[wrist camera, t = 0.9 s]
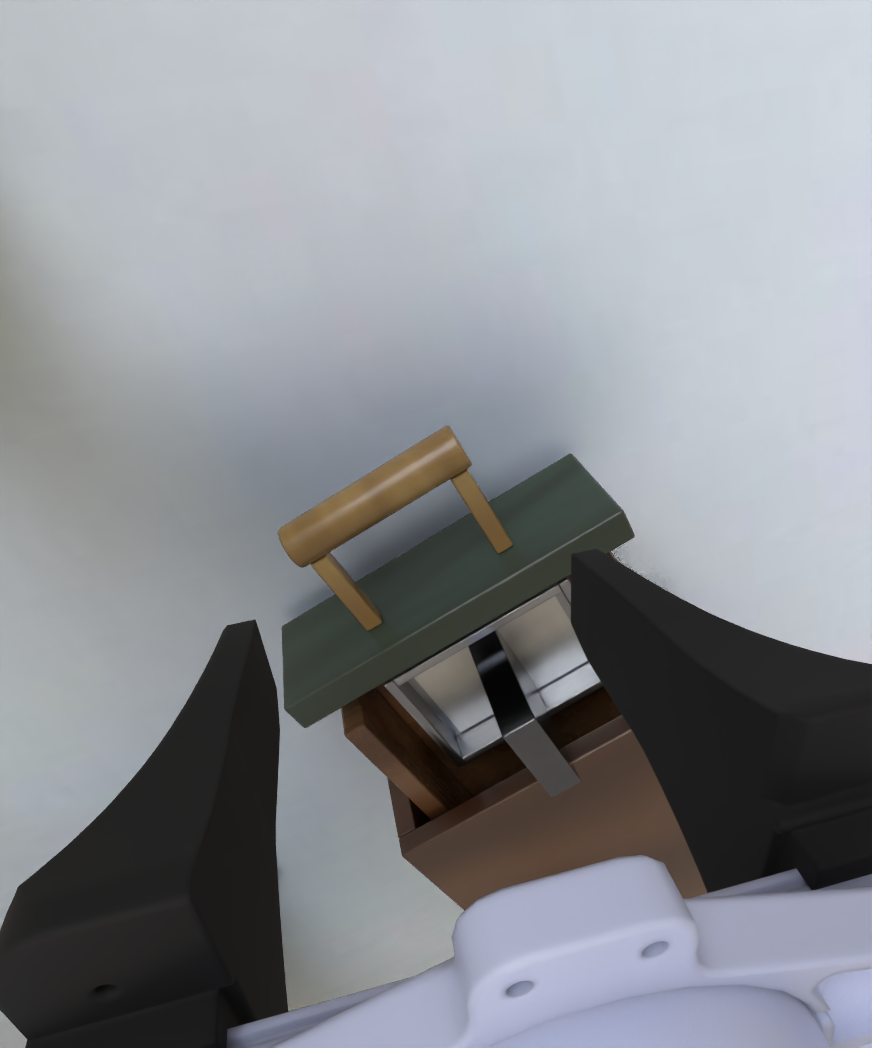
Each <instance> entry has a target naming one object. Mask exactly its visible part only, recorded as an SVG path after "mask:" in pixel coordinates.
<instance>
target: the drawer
mask: <svg viewBox="0 0 872 1048" xmlns="http://www.w3.org/2000/svg"><path fill="white" fill-rule="evenodd" d="M471 465H472V463H471V461H470V459H469V458H468V456H467V454H466V453H465V451H464V449H463V448H462V446H461V444H460V443H459V441H458V439H457V438H456V436H455V434H454V433H453V431H452V429H451V428H450V426H448V425H447V426H445V427H443V428H441V429H440V430H438V431H437V432H435V433H433V434H432V435H430V436H428V437H427V438H425V439H424V440H422V441H420V442H419V443H417V444H415V445H414V446H412V447H411V448H409V449H407V450H406V451H404V452H402V453H401V454H399V455H398V456H396V457H394V458H393V459H391V460H390V461H388V462H386V463H385V464H383V465H381V466H380V467H378V468H377V469H375V470H373V471H372V472H370V473H368V474H367V475H365V476H364V477H362V478H360V479H359V480H357V481H355V482H354V483H352V484H351V485H349V486H347V487H346V488H344V489H342V490H341V491H339V492H338V493H336V494H334V495H333V496H331V497H329V498H328V499H326V500H325V501H323V502H321V503H320V504H318V505H316V506H315V507H313V508H312V509H310V510H308V511H307V512H305V513H303V514H302V515H300V516H299V517H297V518H295V519H294V520H292V521H291V522H289V523H287V524H286V525H284V526H282V527H281V528H280V529H279V530H278V535H279V539H280V542H281V544H282V546H283V548H284V550H285V551H286V553H287V554H288V556H289V557H290V558H291V560H292V561H293V562H294V563H295V564H297V565H298V566H299V567H306V566H308V565H309V564H311V566H312V567H313V569H314V570H315V571H316V572H317V573H318V574H319V575H320V577H321V578H322V579H323V580H324V581H325V582H326V584H327V585H328V586H329V587H330V588H331V589H332V590H333V592H334V593H335V595H333V596H332V597H330V598H328V599H327V600H325V601H323V602H322V603H320V604H318V605H317V606H315V607H313V608H312V609H310V610H308V611H307V612H305V613H303V614H302V615H300V616H298V617H297V618H295V619H293V620H292V621H290V622H288V623H287V624H285V625H283V626H282V651H283V684H284V709H285V711H287V712H288V713H289V714H290V715H291V716H292V717H293V718H294V719H295V720H296V721H297V722H298V723H299V724H301V725H302V726H303V727H304V728H307V727H309V726H310V725H312V724H314V723H315V722H317V721H319V720H321V719H322V718H324V717H326V716H327V715H329V714H331V713H333V712H334V711H336V710H338V709H340V708H341V710H342V718H343V726H344V734H345V736H346V737H347V738H348V739H349V740H350V741H351V742H352V743H353V744H354V745H355V746H356V747H357V748H358V749H359V750H360V751H361V752H362V753H363V754H364V755H365V756H366V757H367V758H368V759H369V760H370V761H371V762H372V763H373V764H374V765H375V766H376V767H378V768H379V769H380V770H381V771H382V772H383V773H384V774H385V775H386V776H387V777H388V778H389V779H390V780H391V781H392V782H393V783H394V784H395V785H396V786H397V787H398V788H399V789H400V790H401V791H402V792H403V793H404V794H405V795H406V796H407V797H408V798H409V799H411V800H412V801H413V802H414V803H415V804H416V805H417V806H418V807H419V808H420V809H421V810H422V811H423V812H424V813H425V814H426V815H427V816H428V817H429V818H430V819H431V820H433V819H435V818H436V817H438V816H440V815H442V814H444V813H446V812H447V811H449V810H451V809H453V808H455V807H456V806H458V805H460V804H462V803H464V802H465V801H467V800H469V799H471V798H473V797H474V796H476V795H478V794H480V793H482V792H483V791H485V790H487V789H489V788H491V787H492V786H494V785H496V784H498V783H500V782H501V781H503V780H505V779H507V778H509V777H510V776H512V775H514V774H516V773H518V772H519V771H521V770H523V769H525V768H527V767H526V766H525V765H524V763H523V762H522V761H521V760H520V758H519V757H518V756H517V755H516V753H515V752H514V751H513V750H512V748H511V747H510V746H509V745H508V743H507V742H506V741H505V742H503V743H502V744H500V745H498V746H496V747H495V748H493V749H491V750H489V751H487V752H486V753H484V754H482V755H480V756H479V757H477V758H475V759H473V760H471V761H470V762H468V763H466V764H464V765H462V766H461V767H459V768H458V767H457V766H456V765H455V764H454V763H453V762H452V761H451V760H450V758H449V757H448V756H447V755H446V754H445V753H444V752H443V751H442V750H441V749H440V747H439V746H438V745H437V744H436V743H435V742H434V741H433V740H432V739H431V738H430V736H429V735H428V734H427V733H426V732H425V731H424V730H423V729H422V728H421V727H420V725H419V724H418V723H417V722H416V721H415V720H414V719H413V718H412V717H411V716H410V714H409V713H408V712H407V711H406V710H405V709H404V708H403V707H402V706H401V705H400V703H399V702H398V701H397V700H396V699H395V698H394V697H393V696H392V695H391V694H390V692H389V691H388V690H387V689H386V688H385V687H384V685H383V683H384V682H386V681H388V680H389V679H391V678H393V677H395V676H396V675H398V674H400V673H402V672H403V671H405V670H407V669H408V668H410V667H412V666H414V665H415V664H417V663H419V662H420V661H422V660H424V659H426V658H427V657H429V656H431V655H433V654H434V653H436V652H438V651H439V650H441V649H443V648H445V647H446V646H448V645H450V644H451V643H453V642H455V641H457V640H458V639H460V638H462V637H464V636H465V635H467V634H469V633H470V632H472V631H474V630H476V629H477V628H479V627H481V626H482V625H484V624H486V623H488V622H489V621H491V620H493V619H494V618H496V617H498V616H500V615H501V614H503V613H505V612H507V611H508V610H510V609H512V608H513V607H515V606H517V605H519V604H520V603H522V602H524V601H525V600H527V599H529V598H531V597H532V596H534V595H536V594H538V593H539V592H541V591H543V590H544V589H546V588H548V587H550V586H551V585H553V584H555V583H556V582H558V581H560V580H562V579H563V578H565V577H568V578H569V580H570V582H571V554H573V553H578V552H582V551H587V550H592V549H598V550H600V551H601V552H603V553H605V554H607V555H608V556H610V557H611V558H613V559H615V560H616V561H618V560H617V559H616V558H615V557H614V555H613V554H612V553H611V552H610V551H612V550H613V549H615V548H617V547H618V546H620V545H622V544H624V543H625V542H627V541H629V540H631V539H632V538H634V532H633V530H632V528H631V526H630V523H629V521H628V519H627V517H626V515H625V513H624V511H623V510H622V509H621V507H620V506H619V505H618V504H617V503H616V502H615V501H614V500H613V499H612V498H611V496H610V495H609V494H608V493H607V492H606V491H605V490H604V489H603V488H602V487H601V485H600V484H599V483H598V482H597V481H596V480H595V479H594V478H593V477H592V476H591V474H590V473H589V472H588V471H587V470H586V469H585V468H584V467H583V466H582V465H581V463H580V462H579V461H578V460H577V459H576V458H575V457H574V456H573V455H572V454H568V455H567V456H565V457H563V458H562V459H560V460H558V461H557V462H555V463H553V464H552V465H550V466H548V467H547V468H545V469H543V470H542V471H540V472H538V473H537V474H535V475H533V476H532V477H530V478H528V479H527V480H525V481H523V482H522V483H520V484H518V485H517V486H515V487H513V488H512V489H510V490H508V491H507V492H505V493H503V494H502V495H500V496H498V497H497V498H495V499H493V500H492V501H490V502H488V501H487V500H486V498H485V497H484V495H483V493H482V492H481V490H480V488H479V487H478V485H477V483H476V482H475V480H474V479H473V477H472V475H471V474H470V472H469V470H468V469H467V468H469V467H471ZM449 479H450V480H451V482H452V483H453V485H454V486H455V488H456V489H457V491H458V493H459V494H460V496H461V497H462V499H463V500H464V502H465V504H466V505H467V507H468V508H469V510H470V511H471V513H470V514H468V515H467V516H465V517H463V518H462V519H460V520H458V521H457V522H455V523H453V524H452V525H450V526H448V527H447V528H445V529H443V530H442V531H440V532H438V533H437V534H435V535H433V536H432V537H430V538H428V539H427V540H425V541H423V542H422V543H420V544H418V545H417V546H415V547H413V548H412V549H410V550H408V551H407V552H405V553H403V554H402V555H400V556H398V557H397V558H395V559H393V560H392V561H390V562H388V563H387V564H385V565H383V566H382V567H380V568H378V569H377V570H375V571H373V572H372V573H370V574H368V575H367V576H365V577H363V578H362V579H360V580H358V581H357V582H354V580H353V579H352V578H351V577H350V576H349V574H348V573H347V572H346V571H345V570H344V568H343V567H342V566H341V565H340V563H339V562H338V561H337V560H336V559H335V557H334V556H333V555H332V554H331V553H330V552H331V551H332V550H334V549H336V548H337V547H339V546H340V545H342V544H344V543H345V542H347V541H349V540H350V539H352V538H354V537H355V536H357V535H359V534H360V533H362V532H364V531H365V530H367V529H368V528H370V527H372V526H373V525H375V524H377V523H378V522H380V521H382V520H383V519H385V518H387V517H388V516H390V515H392V514H393V513H395V512H396V511H398V510H400V509H401V508H403V507H405V506H406V505H408V504H410V503H411V502H413V501H415V500H416V499H418V498H420V497H421V496H423V495H424V494H426V493H428V492H429V491H431V490H433V489H434V488H436V487H438V486H439V485H441V484H443V483H444V482H446V481H448V480H449ZM620 715H622V714H621V713H620V711H619V710H618V708H617V706H616V705H615V703H614V702H613V700H612V698H611V697H610V695H609V694H608V692H607V691H606V689H605V687H604V686H603V687H602V688H600V689H598V690H596V691H595V692H593V693H591V694H589V695H587V696H586V697H584V698H582V699H580V700H578V701H577V702H575V703H573V704H571V705H570V706H568V707H566V708H564V709H562V710H561V711H559V712H557V713H555V714H553V715H552V716H551V719H552V721H553V723H554V725H555V727H556V729H557V731H558V733H559V735H560V737H561V740H562V742H563V744H564V746H566V745H568V744H570V743H572V742H574V741H575V740H577V739H579V738H581V737H583V736H584V735H586V734H588V733H590V732H592V731H593V730H595V729H597V728H599V727H601V726H602V725H604V724H606V723H608V722H610V721H611V720H613V719H615V718H617V717H619V716H620Z"/></svg>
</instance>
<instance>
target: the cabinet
mask: <svg viewBox="0 0 872 1048" xmlns="http://www.w3.org/2000/svg"><path fill="white" fill-rule="evenodd" d="M565 748H566V750H567V752H568V754H569V756H570V759H571V761H572V763H573V765H574V767H575V769H576V771H577V773H578V775H579V778H580V780H581V782H580V783H579V784H577V785H575V786H573V787H571V788H569V789H568V790H566V791H564V792H562V793H560V794H558V795H557V796H555V797H553V798H551V797H550V796H549V794H548V793H547V792H546V791H545V789H544V788H543V787H542V786H541V785H540V783H539V782H538V781H537V780H536V778H535V777H534V776H533V775H532V773H531V772H530V771H529V770H528V768H525V769H523V770H521V771H519V772H518V773H516V774H514V775H512V776H510V777H509V778H507V779H505V780H503V781H501V782H500V783H498V784H496V785H494V786H492V787H491V788H489V789H487V790H485V791H483V792H482V793H480V794H478V795H476V796H474V797H473V798H471V799H469V800H467V801H465V802H464V803H462V804H460V805H458V806H456V807H455V808H453V809H451V810H449V811H447V812H446V813H444V814H442V815H440V816H438V817H436V818H435V819H433V820H431V819H430V818H429V817H428V816H427V815H426V814H425V813H424V812H423V811H422V810H421V809H420V808H419V807H418V806H417V805H416V804H415V803H414V802H413V801H412V800H411V799H409V798H408V797H407V796H406V795H405V794H404V793H403V792H402V791H401V790H400V789H399V788H398V787H397V786H396V785H395V784H394V783H393V782H392V781H391V780H390V779H389V778H388V777H387V778H388V783H389V789H390V794H391V800H392V805H393V811H394V816H395V822H396V827H397V832H398V837H399V842H400V847H401V853H402V856H403V857H404V858H405V859H406V860H407V861H408V862H410V863H411V864H412V865H413V866H414V867H415V868H416V869H418V870H419V871H420V872H421V873H422V874H423V875H425V876H426V877H427V878H428V879H429V880H430V881H431V882H433V883H434V884H435V885H436V886H437V887H438V888H439V889H441V890H442V891H443V892H444V893H445V894H446V895H448V896H449V897H450V898H451V899H452V900H453V901H454V902H456V903H457V904H458V905H459V906H460V907H461V908H462V909H464V910H466V909H467V908H468V907H469V906H470V905H472V904H473V903H474V902H475V901H476V900H477V899H479V898H482V897H484V896H486V895H488V894H491V893H493V892H495V891H498V890H500V889H503V888H506V887H510V886H514V885H518V884H521V883H525V882H529V881H532V880H536V879H540V878H543V877H547V876H551V875H555V874H558V873H562V872H566V871H569V870H573V869H577V868H580V867H584V866H588V865H591V864H595V863H599V862H603V861H606V860H610V859H614V858H617V857H626V856H635V855H643V856H647V857H649V858H652V859H655V860H657V861H660V862H662V863H664V864H665V866H666V868H667V870H668V872H669V874H670V875H671V877H672V879H673V881H674V883H675V885H676V887H677V889H678V890H679V892H680V894H681V896H682V898H683V899H687V898H693V897H696V896H700V895H703V894H707V893H708V892H707V890H706V887H705V885H704V883H703V880H702V878H701V875H700V873H699V870H698V868H697V866H696V863H695V861H694V859H693V856H692V854H691V852H690V849H689V847H688V845H687V843H686V840H685V838H684V836H683V833H682V831H681V829H680V826H679V824H678V822H677V820H676V818H675V816H674V813H673V811H672V809H671V807H670V805H669V803H668V800H667V798H666V796H665V794H664V792H663V790H662V787H661V785H660V783H659V781H658V779H657V777H656V775H655V773H654V771H653V769H652V767H651V765H650V763H649V761H648V759H647V757H646V755H645V753H644V751H643V749H642V747H641V745H640V744H639V742H638V740H637V738H636V737H635V735H634V733H633V732H632V730H631V729H630V727H629V725H628V724H627V722H626V721H625V719H624V717H623V716H622V715H620V716H619V717H617V718H615V719H613V720H611V721H610V722H608V723H606V724H604V725H602V726H601V727H599V728H597V729H595V730H593V731H592V732H590V733H588V734H586V735H584V736H583V737H581V738H579V739H577V740H575V741H574V742H572V743H570V744H568V745H566V746H565Z"/></svg>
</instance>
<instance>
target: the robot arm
mask: <svg viewBox="0 0 872 1048" xmlns="http://www.w3.org/2000/svg"><path fill="white" fill-rule="evenodd" d="M571 625H572V627H573V629H574V631H575V634H576V636H577V638H578V641H579V643H580V645H581V647H582V649H583V651H584V654H585V656H586V658H587V660H588V661H589V663H590V665H591V666H592V668H593V670H594V671H595V673H596V675H597V676H598V678H599V679H600V681H601V683H602V684H603V686H604V687H605V689H606V691H607V692H608V694H609V695H610V697H611V698H612V700H613V702H614V703H615V705H616V706H617V708H618V710H619V711H620V713H621V714H622V716H623V717H624V719H625V721H626V722H627V724H628V725H629V727H630V729H631V730H632V732H633V733H634V735H635V737H636V738H637V740H638V742H639V744H640V745H641V747H642V749H643V751H644V753H645V755H646V757H647V759H648V761H649V763H650V765H651V767H652V769H653V771H654V773H655V775H656V777H657V779H658V781H659V783H660V785H661V787H662V790H663V792H664V794H665V796H666V798H667V800H668V803H669V805H670V807H671V809H672V811H673V813H674V816H675V818H676V820H677V822H678V824H679V826H680V829H681V831H682V833H683V836H684V838H685V840H686V843H687V845H688V847H689V849H690V852H691V854H692V856H693V859H694V861H695V863H696V866H697V868H698V870H699V873H700V875H701V878H702V880H703V883H704V885H705V887H706V890H707V892H708V893H707V894H703V895H700V896H696V897H693V898H687V899H683V898H682V896H681V894H680V892H679V890H678V889H677V887H676V885H675V883H674V881H673V879H672V877H671V875H670V874H669V872H668V870H667V868H666V866H665V864H664V863H662V862H660V861H657V860H655V859H652V858H649V857H647V856H643V855H635V856H626V857H617V858H614V859H610V860H606V861H603V862H599V863H595V864H591V865H588V866H584V867H580V868H577V869H573V870H569V871H566V872H562V873H558V874H555V875H551V876H547V877H543V878H540V879H536V880H532V881H529V882H525V883H521V884H518V885H514V886H510V887H506V888H503V889H500V890H498V891H495V892H493V893H491V894H488V895H486V896H484V897H482V898H479V899H477V900H476V901H475V902H474V903H473V904H472V905H470V906H469V907H468V908H467V909H466V910H465V911H464V912H463V913H462V914H461V915H460V916H459V918H458V919H457V921H456V925H455V928H454V932H453V935H452V940H453V946H454V953H455V954H454V957H453V958H451V959H449V960H447V961H444V962H442V963H440V964H438V965H436V966H434V967H432V968H430V969H428V970H426V971H424V972H422V973H420V974H418V975H416V976H413V977H410V978H406V979H403V980H399V981H396V982H392V983H389V984H385V985H382V986H378V987H375V988H371V989H367V990H364V991H360V992H357V993H353V994H350V995H346V996H343V997H339V998H336V999H332V1000H329V1001H325V1002H321V1003H318V1004H314V1005H311V1006H307V1007H304V1008H300V1009H297V1010H293V1011H290V1012H288V1005H287V994H286V983H285V971H284V959H283V947H282V934H281V920H280V906H279V891H278V875H277V857H276V806H277V785H278V764H279V740H280V725H279V711H278V699H277V688H276V685H275V681H274V678H273V675H272V672H271V668H270V665H269V662H268V659H267V655H266V652H265V649H264V645H263V642H262V639H261V636H260V632H259V629H258V626H257V623H256V620H251V621H246V622H241V623H236V624H232V625H227V626H226V628H225V629H224V630H223V632H222V634H221V637H220V639H219V641H218V643H217V645H216V648H215V650H214V652H213V654H212V656H211V658H210V660H209V662H208V664H207V666H206V668H205V670H204V672H203V674H202V675H201V677H200V679H199V681H198V683H197V684H196V686H195V688H194V690H193V692H192V694H191V695H190V697H189V699H188V701H187V702H186V704H185V705H184V707H183V709H182V710H181V712H180V713H179V715H178V717H177V718H176V720H175V721H174V723H173V725H172V726H171V728H170V729H169V731H168V732H167V734H166V735H165V737H164V738H163V739H162V741H161V742H160V744H159V745H158V747H157V748H156V749H155V751H154V752H153V753H152V755H151V756H150V757H149V759H148V760H147V761H146V763H145V764H144V765H143V766H142V768H141V769H140V770H139V771H138V772H137V774H136V775H135V776H134V777H133V778H132V780H131V781H130V782H129V783H128V784H127V785H126V786H125V788H124V789H123V790H122V791H121V792H120V793H119V794H118V796H117V797H116V798H115V799H114V800H113V801H112V802H111V803H110V804H109V805H108V806H107V808H106V809H105V810H104V811H103V812H102V813H101V814H100V815H99V816H98V817H97V818H96V819H95V820H94V821H93V822H92V823H91V824H90V825H89V826H87V827H86V828H85V829H84V830H83V831H82V832H81V833H80V834H79V835H78V836H77V837H76V838H75V839H74V840H73V841H72V842H71V843H69V844H68V845H67V846H66V847H65V848H64V849H63V850H62V851H60V852H59V853H58V854H57V855H56V856H55V857H53V858H52V859H51V860H50V861H49V862H47V863H46V864H45V865H44V866H43V867H42V868H40V869H39V870H38V871H37V872H36V873H34V874H33V875H32V876H31V877H30V878H28V879H27V880H26V881H25V882H23V883H22V884H21V885H20V886H19V887H18V888H17V891H16V894H15V896H14V898H13V900H12V903H11V905H10V907H9V909H8V911H7V914H6V917H5V919H4V922H3V925H2V927H1V930H0V1010H1V1011H2V1012H3V1013H4V1014H5V1016H6V1017H7V1018H8V1019H9V1020H10V1021H11V1022H12V1023H13V1024H14V1025H15V1026H16V1028H17V1029H18V1030H19V1031H20V1032H21V1033H22V1034H23V1035H24V1036H25V1037H26V1038H27V1039H28V1040H27V1044H26V1047H25V1048H872V664H868V663H862V662H857V661H852V660H847V659H843V658H838V657H834V656H830V655H827V654H823V653H819V652H815V651H811V650H807V649H804V648H801V647H797V646H794V645H790V644H787V643H784V642H781V641H778V640H775V639H772V638H769V637H766V636H763V635H761V634H758V633H755V632H753V631H750V630H747V629H745V628H742V627H740V626H738V625H735V624H733V623H730V622H728V621H726V620H723V619H721V618H719V617H716V616H714V615H712V614H710V613H708V612H706V611H704V610H702V609H700V608H698V607H696V606H694V605H692V604H690V603H688V602H686V601H684V600H682V599H680V598H679V597H677V596H675V595H673V594H671V593H669V592H668V591H666V590H664V589H662V588H661V587H659V586H657V585H656V584H654V583H652V582H650V581H649V580H647V579H645V578H644V577H642V576H640V575H639V574H637V573H636V572H634V571H632V570H631V569H629V568H628V567H626V566H624V565H623V564H621V563H619V562H618V561H616V560H615V559H613V558H611V557H610V556H608V555H607V554H605V553H603V552H601V551H600V550H598V549H592V550H587V551H582V552H578V553H573V554H571Z"/></svg>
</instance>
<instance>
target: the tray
mask: <svg viewBox="0 0 872 1048" xmlns="http://www.w3.org/2000/svg"><path fill="white" fill-rule="evenodd" d="M383 685H384V687H385V688H386V689H387V690H388V691H389V692H390V694H391V695H392V696H393V697H394V698H395V699H396V700H397V701H398V702H399V703H400V705H401V706H402V707H403V708H404V709H405V710H406V711H407V712H408V713H409V714H410V716H411V717H412V718H413V719H414V720H415V721H416V722H417V723H418V724H419V725H420V727H421V728H422V729H423V730H424V731H425V732H426V733H427V734H428V735H429V736H430V738H431V739H432V740H433V741H434V742H435V743H436V744H437V745H438V746H439V747H440V749H441V750H442V751H443V752H444V753H445V754H446V755H447V756H448V757H449V758H450V760H451V761H452V762H453V763H454V764H455V765H456V766H457V767H458V768H459V767H461V766H462V765H464V764H466V763H468V762H470V761H471V760H473V759H475V758H477V757H479V756H480V755H482V754H484V753H486V752H487V751H489V750H491V749H493V748H495V747H496V746H498V745H500V744H502V743H503V742H505V741H506V742H507V743H508V745H509V746H510V747H511V748H512V750H513V751H514V752H515V753H516V755H517V756H518V757H519V758H520V760H521V761H522V762H523V763H524V765H525V766H526V767H527V768H528V770H529V771H530V772H531V773H532V775H533V776H534V777H535V778H536V780H537V781H538V782H539V783H540V785H541V786H542V787H543V788H544V789H545V791H546V792H547V793H548V794H549V796H550V797H551V798H553V797H555V796H557V795H558V794H560V793H562V792H564V791H566V790H568V789H569V788H571V787H573V786H575V785H577V784H579V783H580V782H581V780H580V778H579V775H578V773H577V771H576V769H575V767H574V765H573V763H572V761H571V759H570V756H569V754H568V752H567V750H566V748H565V746H564V744H563V742H562V740H561V737H560V735H559V733H558V731H557V729H556V727H555V725H554V723H553V721H552V719H551V716H552V715H553V714H555V713H557V712H559V711H561V710H562V709H564V708H566V707H568V706H570V705H571V704H573V703H575V702H577V701H578V700H580V699H582V698H584V697H586V696H587V695H589V694H591V693H593V692H595V691H596V690H598V689H600V688H602V687H603V684H602V683H601V681H600V679H599V678H598V676H597V675H596V673H595V671H594V670H593V668H592V666H591V665H590V663H589V661H588V660H587V658H586V656H585V654H584V651H583V649H582V647H581V645H580V643H579V641H578V638H577V636H576V634H575V631H574V629H573V627H572V625H571V582H570V580H569V578H568V577H565V578H563V579H562V580H560V581H558V582H556V583H555V584H553V585H551V586H550V587H548V588H546V589H544V590H543V591H541V592H539V593H538V594H536V595H534V596H532V597H531V598H529V599H527V600H525V601H524V602H522V603H520V604H519V605H517V606H515V607H513V608H512V609H510V610H508V611H507V612H505V613H503V614H501V615H500V616H498V617H496V618H494V619H493V620H491V621H489V622H488V623H486V624H484V625H482V626H481V627H479V628H477V629H476V630H474V631H472V632H470V633H469V634H467V635H465V636H464V637H462V638H460V639H458V640H457V641H455V642H453V643H451V644H450V645H448V646H446V647H445V648H443V649H441V650H439V651H438V652H436V653H434V654H433V655H431V656H429V657H427V658H426V659H424V660H422V661H420V662H419V663H417V664H415V665H414V666H412V667H410V668H408V669H407V670H405V671H403V672H402V673H400V674H398V675H396V676H395V677H393V678H391V679H389V680H388V681H386V682H384V683H383Z"/></svg>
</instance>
